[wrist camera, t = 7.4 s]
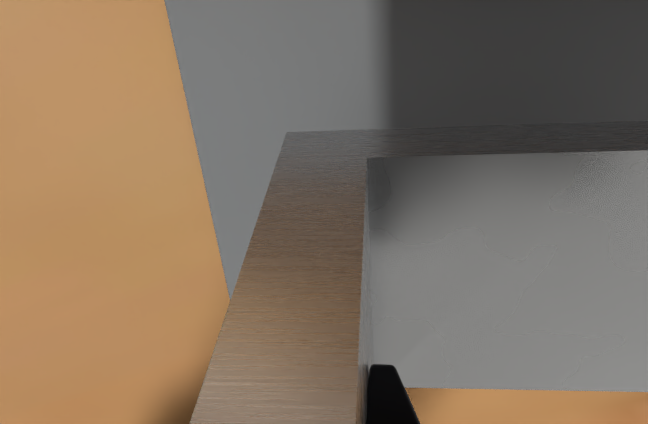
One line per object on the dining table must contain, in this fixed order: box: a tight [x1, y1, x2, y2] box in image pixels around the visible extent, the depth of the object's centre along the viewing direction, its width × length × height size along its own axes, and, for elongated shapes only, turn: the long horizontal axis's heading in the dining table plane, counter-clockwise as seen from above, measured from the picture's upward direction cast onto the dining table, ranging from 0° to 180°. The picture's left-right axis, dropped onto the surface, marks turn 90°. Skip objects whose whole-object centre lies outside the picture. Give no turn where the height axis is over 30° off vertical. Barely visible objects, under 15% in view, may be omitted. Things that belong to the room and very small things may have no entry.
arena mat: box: [165, 0, 648, 300], centre depth 15 cm, size 12×15×1 cm
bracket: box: [190, 120, 648, 424], centre depth 9 cm, size 8×6×8 cm
